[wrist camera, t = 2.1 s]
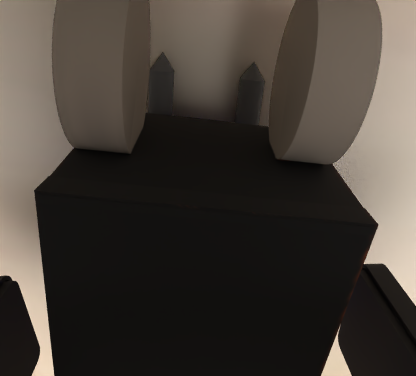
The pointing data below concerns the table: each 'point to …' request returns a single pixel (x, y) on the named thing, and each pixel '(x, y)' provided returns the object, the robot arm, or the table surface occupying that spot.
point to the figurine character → (203, 201)
